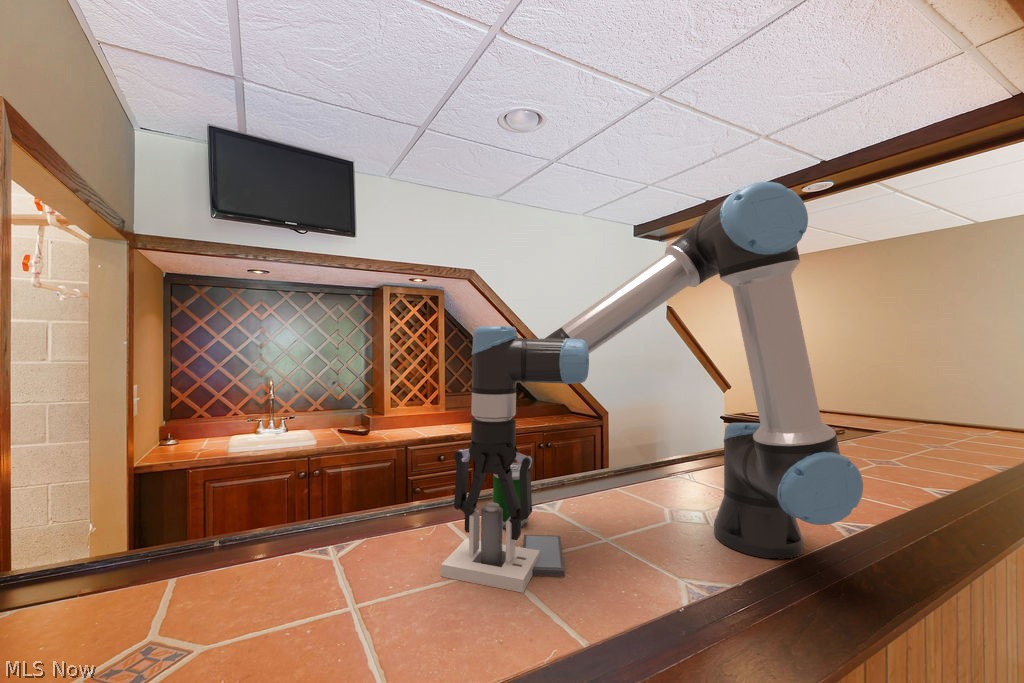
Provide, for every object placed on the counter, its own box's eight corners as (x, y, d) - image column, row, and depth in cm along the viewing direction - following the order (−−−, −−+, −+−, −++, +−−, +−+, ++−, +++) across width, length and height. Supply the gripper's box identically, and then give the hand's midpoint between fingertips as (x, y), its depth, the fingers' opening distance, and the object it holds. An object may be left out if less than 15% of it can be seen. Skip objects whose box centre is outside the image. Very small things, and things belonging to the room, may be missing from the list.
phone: (560, 540, 85) (560, 535, 85) (564, 576, 72) (564, 570, 72) (523, 539, 85) (524, 534, 85) (521, 575, 72) (521, 568, 72)
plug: (504, 565, 75) (505, 502, 75) (497, 576, 72) (498, 510, 72) (485, 562, 76) (486, 500, 76) (477, 572, 73) (478, 507, 73)
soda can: (525, 532, 89) (525, 472, 89) (488, 528, 90) (489, 470, 90) (530, 517, 96) (531, 462, 96) (497, 514, 97) (498, 460, 98)
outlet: (539, 561, 77) (539, 549, 77) (523, 592, 67) (523, 579, 67) (466, 549, 81) (466, 537, 81) (440, 576, 72) (441, 563, 72)
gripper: (553, 417, 75) (551, 553, 75) (452, 410, 81) (451, 536, 81) (542, 425, 68) (540, 575, 68) (433, 417, 73) (431, 555, 73)
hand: (492, 554), depth 74 cm, fingers open, 6 cm apart
